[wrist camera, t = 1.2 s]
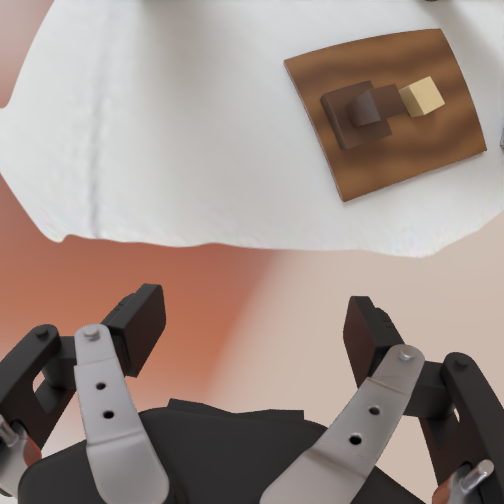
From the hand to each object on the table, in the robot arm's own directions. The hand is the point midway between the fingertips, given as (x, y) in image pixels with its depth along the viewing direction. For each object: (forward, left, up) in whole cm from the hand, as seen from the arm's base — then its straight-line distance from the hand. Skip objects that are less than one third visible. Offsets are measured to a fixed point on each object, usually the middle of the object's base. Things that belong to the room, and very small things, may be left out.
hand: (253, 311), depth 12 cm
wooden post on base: (-7, +14, -26) cm, 31 cm away
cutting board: (-7, +22, -28) cm, 36 cm away
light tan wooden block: (-7, +24, -26) cm, 36 cm away
